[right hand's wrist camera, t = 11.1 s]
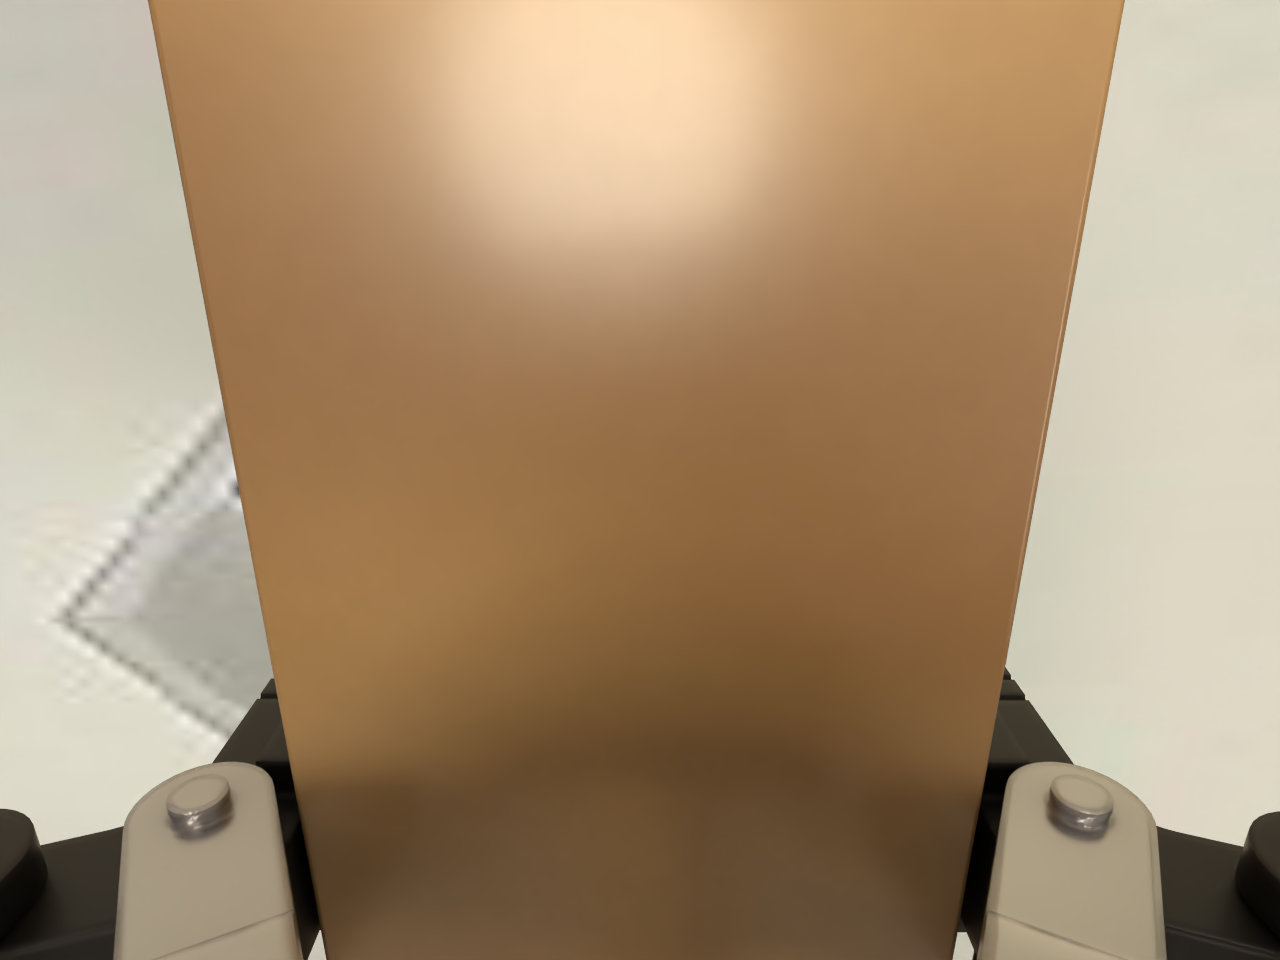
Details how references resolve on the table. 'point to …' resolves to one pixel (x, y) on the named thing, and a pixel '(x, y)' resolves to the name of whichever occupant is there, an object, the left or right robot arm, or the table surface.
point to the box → (637, 444)
